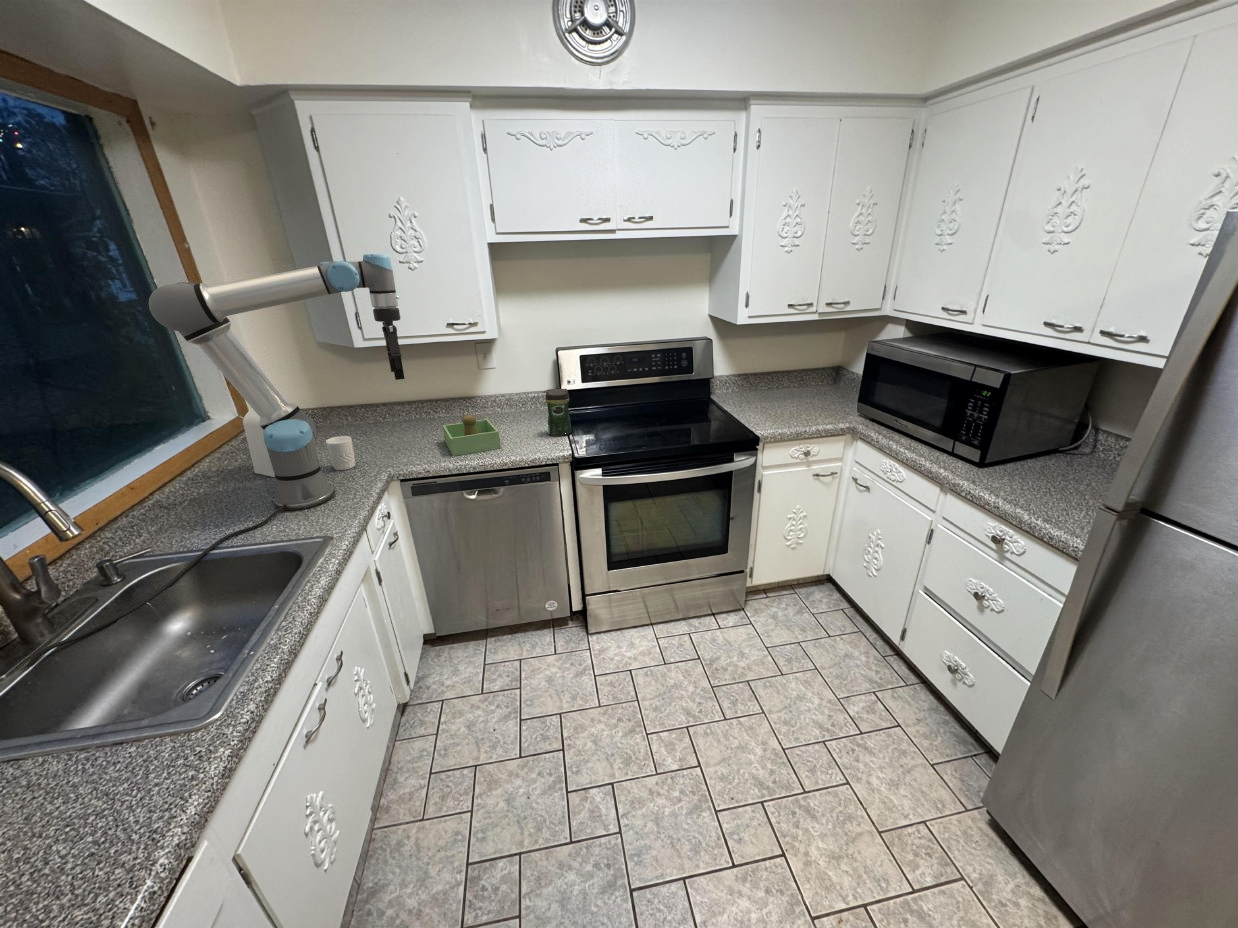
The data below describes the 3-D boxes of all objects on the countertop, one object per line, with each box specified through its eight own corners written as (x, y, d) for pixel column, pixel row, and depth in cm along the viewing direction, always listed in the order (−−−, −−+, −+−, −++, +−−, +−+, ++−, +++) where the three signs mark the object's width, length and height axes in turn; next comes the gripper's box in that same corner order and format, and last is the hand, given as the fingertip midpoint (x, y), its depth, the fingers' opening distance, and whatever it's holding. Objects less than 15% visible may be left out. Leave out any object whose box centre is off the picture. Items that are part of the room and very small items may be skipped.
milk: (254, 472, 171) (231, 398, 161) (286, 461, 181) (266, 390, 171) (279, 477, 167) (257, 401, 157) (310, 465, 177) (291, 393, 167)
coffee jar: (571, 429, 211) (568, 386, 204) (571, 435, 204) (569, 391, 197) (547, 430, 210) (544, 387, 203) (547, 437, 203) (544, 392, 196)
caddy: (500, 448, 191) (498, 431, 189) (453, 456, 184) (450, 438, 181) (489, 434, 206) (487, 419, 203) (445, 441, 199) (442, 425, 196)
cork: (475, 446, 191) (472, 418, 187) (461, 445, 192) (457, 417, 188) (482, 440, 197) (479, 413, 193) (468, 440, 198) (465, 413, 194)
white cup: (352, 460, 181) (346, 434, 177) (360, 466, 175) (354, 439, 172) (329, 466, 176) (322, 439, 172) (336, 473, 170) (329, 445, 167)
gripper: (403, 310, 148) (414, 381, 156) (394, 304, 168) (405, 367, 176) (375, 311, 145) (388, 384, 153) (369, 305, 165) (382, 369, 173)
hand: (397, 375), depth 165 cm, fingers open, 13 cm apart
